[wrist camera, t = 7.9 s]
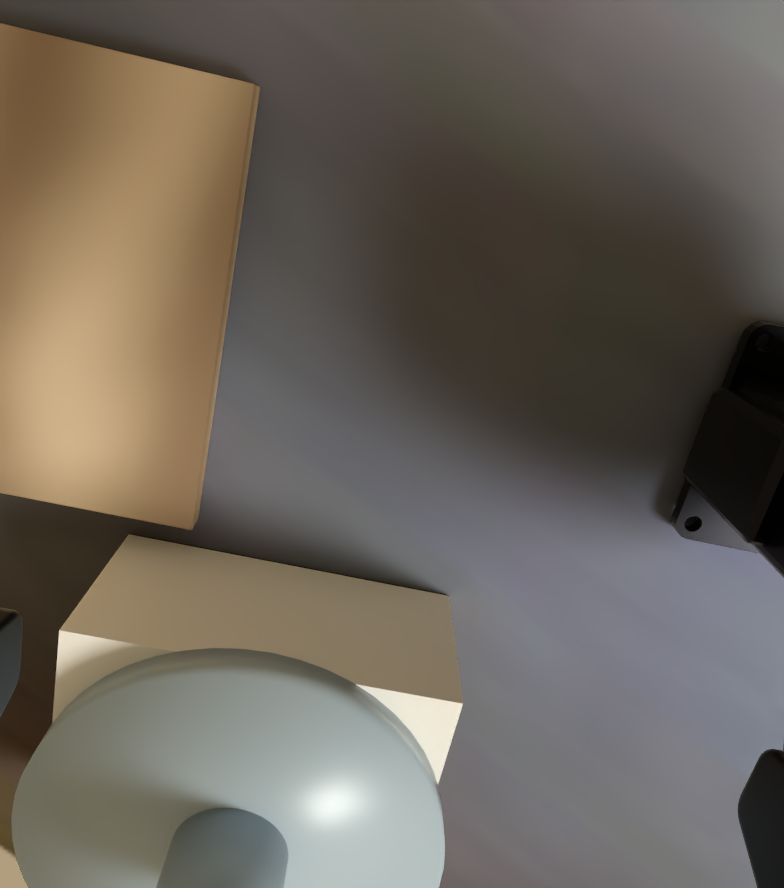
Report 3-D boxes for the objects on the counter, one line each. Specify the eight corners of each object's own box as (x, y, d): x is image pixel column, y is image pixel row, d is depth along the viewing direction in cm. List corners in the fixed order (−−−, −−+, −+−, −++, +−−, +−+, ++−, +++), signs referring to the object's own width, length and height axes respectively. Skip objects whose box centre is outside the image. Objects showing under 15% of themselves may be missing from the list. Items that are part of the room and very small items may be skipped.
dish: (449, 596, 23) (462, 703, 19) (381, 832, 27) (379, 973, 22) (128, 534, 23) (59, 630, 18) (101, 784, 26) (37, 920, 21)
